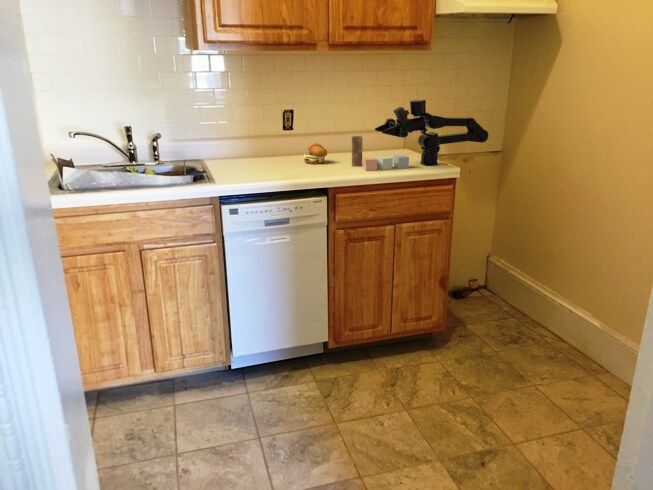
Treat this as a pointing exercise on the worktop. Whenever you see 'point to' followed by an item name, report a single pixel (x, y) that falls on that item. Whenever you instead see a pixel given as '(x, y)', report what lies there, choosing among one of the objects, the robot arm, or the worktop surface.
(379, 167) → the sage cube
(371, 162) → the terracotta cube
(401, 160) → the slate cube
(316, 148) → the cheeseburger
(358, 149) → the walnut block
